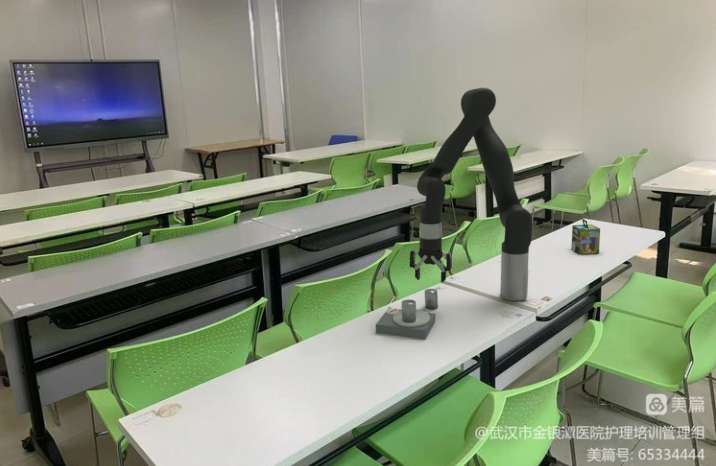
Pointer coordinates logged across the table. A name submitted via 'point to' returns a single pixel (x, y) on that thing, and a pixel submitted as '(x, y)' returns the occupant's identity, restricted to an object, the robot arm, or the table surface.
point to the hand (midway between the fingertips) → (430, 280)
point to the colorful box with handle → (585, 238)
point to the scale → (405, 324)
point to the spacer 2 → (431, 299)
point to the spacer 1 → (408, 311)
